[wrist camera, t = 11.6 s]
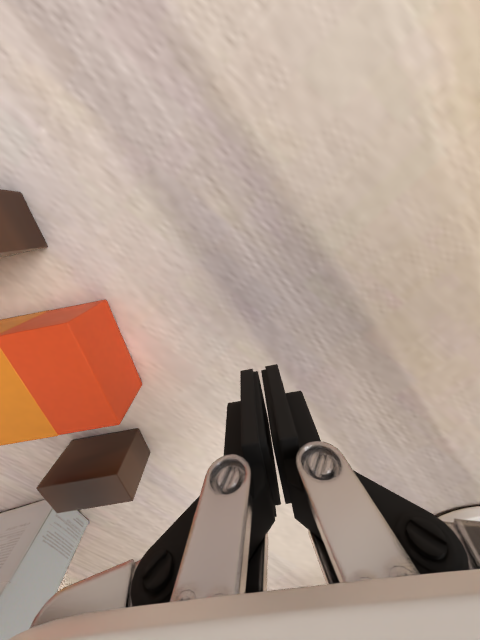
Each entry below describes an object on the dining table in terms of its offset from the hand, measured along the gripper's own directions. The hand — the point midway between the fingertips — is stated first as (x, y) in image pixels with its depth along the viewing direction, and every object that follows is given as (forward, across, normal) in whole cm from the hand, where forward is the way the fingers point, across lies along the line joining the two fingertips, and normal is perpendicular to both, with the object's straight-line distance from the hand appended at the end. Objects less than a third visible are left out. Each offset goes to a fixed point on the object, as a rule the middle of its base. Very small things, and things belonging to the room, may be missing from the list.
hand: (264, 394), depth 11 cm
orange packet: (+6, +15, -1) cm, 17 cm away
